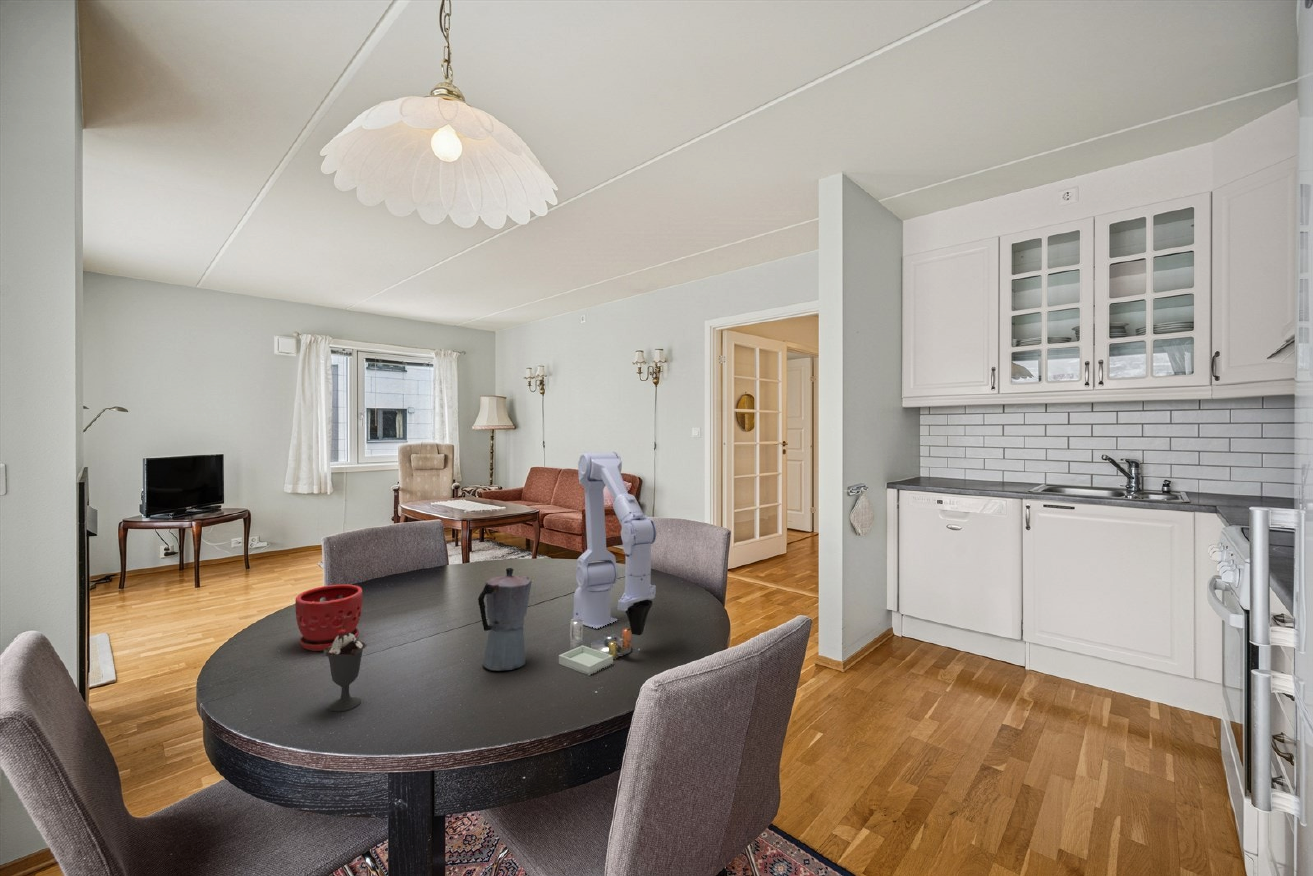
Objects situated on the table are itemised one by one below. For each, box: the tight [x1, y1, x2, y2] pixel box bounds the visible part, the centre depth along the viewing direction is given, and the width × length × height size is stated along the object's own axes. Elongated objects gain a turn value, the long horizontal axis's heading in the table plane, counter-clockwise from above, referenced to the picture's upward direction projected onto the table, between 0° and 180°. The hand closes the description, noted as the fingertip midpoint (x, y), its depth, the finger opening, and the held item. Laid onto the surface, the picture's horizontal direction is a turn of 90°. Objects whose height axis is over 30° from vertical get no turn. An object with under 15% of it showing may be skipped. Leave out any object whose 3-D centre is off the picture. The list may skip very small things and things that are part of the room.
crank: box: [603, 627, 632, 654], centre depth 119 cm, size 9×3×5 cm, turn 36°
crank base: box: [590, 636, 624, 660], centre depth 121 cm, size 9×9×3 cm
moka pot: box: [477, 567, 532, 672], centre depth 113 cm, size 10×15×20 cm, turn 161°
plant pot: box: [295, 584, 364, 652], centre depth 123 cm, size 13×13×12 cm
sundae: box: [323, 619, 368, 712], centre depth 95 cm, size 7×7×15 cm
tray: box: [558, 645, 614, 677], centre depth 114 cm, size 9×7×2 cm
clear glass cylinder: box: [569, 618, 584, 651], centre depth 121 cm, size 3×3×6 cm
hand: (637, 633), depth 120 cm, fingers closed
